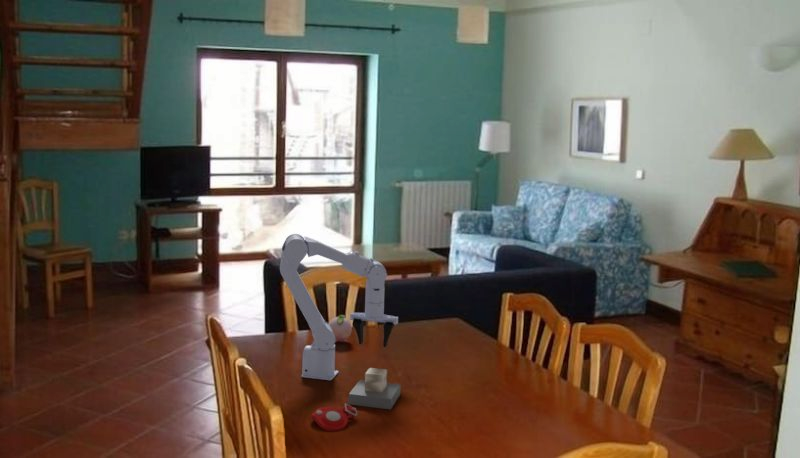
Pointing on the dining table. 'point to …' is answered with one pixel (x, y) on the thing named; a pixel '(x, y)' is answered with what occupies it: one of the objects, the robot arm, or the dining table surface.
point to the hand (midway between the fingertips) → (373, 344)
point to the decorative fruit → (341, 327)
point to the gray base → (374, 396)
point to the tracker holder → (334, 417)
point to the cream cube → (375, 380)
